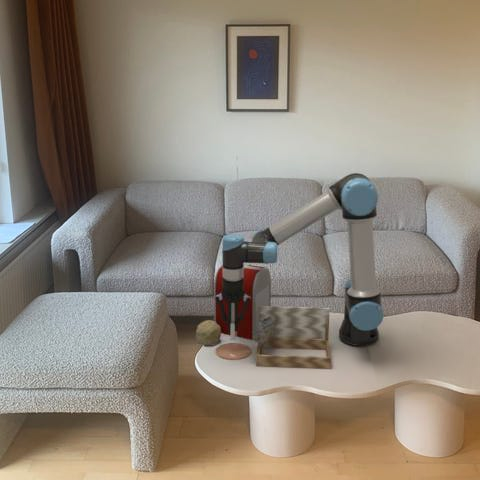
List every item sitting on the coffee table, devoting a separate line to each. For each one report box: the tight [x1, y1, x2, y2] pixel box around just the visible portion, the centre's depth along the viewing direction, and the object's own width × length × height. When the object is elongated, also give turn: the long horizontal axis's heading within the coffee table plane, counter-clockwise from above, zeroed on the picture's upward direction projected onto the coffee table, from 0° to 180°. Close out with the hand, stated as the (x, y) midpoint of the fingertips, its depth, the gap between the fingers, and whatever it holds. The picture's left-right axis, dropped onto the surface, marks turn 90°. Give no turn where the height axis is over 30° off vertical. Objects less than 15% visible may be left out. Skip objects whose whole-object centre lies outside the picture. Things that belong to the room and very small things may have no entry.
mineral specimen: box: [252, 316, 277, 350], centre depth 239 cm, size 15×8×4 cm
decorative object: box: [195, 319, 222, 346], centre depth 251 cm, size 9×10×10 cm
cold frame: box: [255, 305, 332, 370], centre depth 237 cm, size 26×17×16 cm, turn 86°
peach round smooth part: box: [215, 342, 252, 361], centre depth 243 cm, size 13×13×1 cm
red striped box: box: [213, 263, 272, 341], centre depth 259 cm, size 16×18×27 cm
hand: (232, 338), depth 242 cm, fingers closed
